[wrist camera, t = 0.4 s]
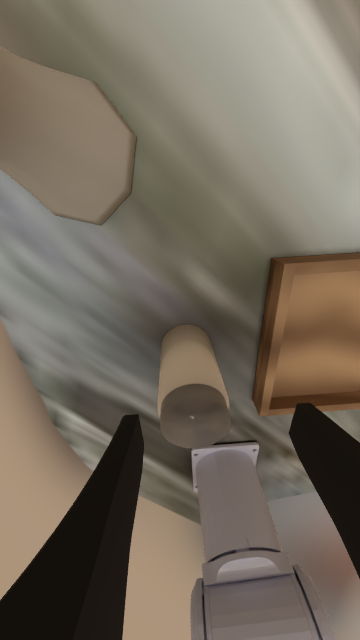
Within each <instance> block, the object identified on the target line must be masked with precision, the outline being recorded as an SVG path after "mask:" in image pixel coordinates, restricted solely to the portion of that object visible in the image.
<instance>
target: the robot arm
mask: <svg viewBox="0 0 360 640" xmlns="http://www.w3.org/2000/svg"><path fill="white" fill-rule="evenodd" d="M289 435H290V438H291V440H292V443H293V445H294V448H295V450H296V452H297V455H298V457H299V459H300V461H301V463H302V465H303V467H304V469H305V470H306V472H307V474H308V476H309V478H310V480H311V482H312V483H313V485H314V487H315V489H316V491H317V493H318V494H319V496H320V498H321V500H322V502H323V503H324V505H325V507H326V509H327V511H328V513H329V515H330V516H331V518H332V520H333V522H334V524H335V526H336V528H337V530H338V532H339V534H340V536H341V538H342V541H343V543H344V545H345V547H346V549H347V552H348V554H349V556H350V558H351V560H352V562H353V565H354V567H355V569H356V571H357V574H358V576H359V578H360V443H359V442H358V441H357V440H356V439H354V438H353V437H352V436H351V435H349V434H348V433H347V432H346V431H344V430H343V429H342V428H341V427H339V426H338V425H337V424H336V423H335V422H333V421H332V420H331V419H330V418H328V417H327V416H326V415H325V414H324V413H322V412H321V411H320V410H319V409H317V408H316V407H315V406H314V405H313V404H311V403H297V405H296V408H295V412H294V416H293V419H292V423H291V427H290V431H289ZM258 450H259V445H258V443H257V442H249V443H236V444H223V445H210V446H206V447H202V448H192V449H191V453H192V472H193V491H194V492H196V493H198V497H199V507H200V517H201V526H202V535H203V545H204V556H205V563H204V564H202V571H203V578H198V579H197V580H196V584H195V586H194V588H193V590H192V594H191V640H337V637H336V635H335V632H334V629H333V627H332V624H331V622H330V619H329V616H328V614H327V612H326V609H325V607H324V604H323V602H322V600H321V598H320V595H319V593H318V591H317V589H316V587H315V585H314V583H313V581H312V579H311V578H310V577H309V575H308V574H307V573H306V572H305V571H303V570H302V568H301V567H300V566H299V565H297V564H296V565H292V564H291V561H290V558H289V556H288V553H287V552H283V550H282V547H281V544H280V541H279V538H278V535H277V532H276V529H275V526H274V523H273V520H272V517H271V514H270V511H269V508H268V505H267V502H266V499H265V496H264V493H263V490H262V487H261V484H260V481H259V478H258V475H257V472H256V469H255V467H256V462H257V456H258ZM143 452H144V441H143V436H142V430H141V425H140V420H139V415H138V414H136V415H125V416H124V417H123V418H122V420H121V422H120V424H119V426H118V428H117V430H116V432H115V434H114V436H113V438H112V440H111V442H110V444H109V446H108V448H107V449H106V451H105V453H104V455H103V456H102V458H101V460H100V462H99V463H98V465H97V467H96V469H95V470H94V472H93V474H92V475H91V477H90V478H89V480H88V482H87V483H86V485H85V486H84V488H83V489H82V491H81V493H80V494H79V496H78V497H77V499H76V500H75V502H74V503H73V505H72V506H71V508H70V509H69V511H68V512H67V514H66V515H65V516H64V518H63V519H62V521H61V522H60V524H59V525H58V527H57V528H56V529H55V531H54V532H53V533H52V535H51V536H50V537H49V539H48V540H47V541H46V543H45V544H44V545H43V547H42V548H41V549H40V551H39V552H38V554H37V555H36V556H35V558H34V559H33V560H32V561H31V563H30V564H29V565H28V567H27V568H26V569H25V570H24V572H23V573H22V574H21V576H20V577H19V578H18V579H17V580H16V582H15V583H14V584H13V585H12V586H11V588H10V589H9V590H8V591H7V593H6V594H5V595H4V596H3V597H2V599H1V600H0V640H122V635H123V622H124V610H125V598H126V585H127V575H128V563H129V553H130V545H131V537H132V530H133V524H134V518H135V511H136V505H137V500H138V493H139V487H140V481H141V474H142V466H143Z"/></svg>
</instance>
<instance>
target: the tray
mask: <svg viewBox="0 0 360 640" xmlns="http://www.w3.org/2000/svg"><path fill="white" fill-rule="evenodd" d="M253 402H254V405H255V407H256V409H257V411H258V414H259V416H270V415H283V414H294V412H295V408H296V405H297V403H311V404H313V405H314V406H315V407H316V408H317V409H319V410H320V411H321V412H322V411H335V410H348V409H360V253H345V254H329V255H314V256H299V257H283V258H272V259H271V266H270V273H269V281H268V288H267V296H266V303H265V311H264V318H263V326H262V333H261V340H260V348H259V355H258V363H257V370H256V378H255V385H254V392H253Z"/></svg>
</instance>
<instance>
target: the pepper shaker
mask: <svg viewBox="0 0 360 640" xmlns="http://www.w3.org/2000/svg"><path fill="white" fill-rule="evenodd" d="M158 415H159V417H160V430H161V433H162V435H163V437H164V438H165V439H166V440H167V441H169V442H170V443H172V444H174V445H176V446H179V447H183V448H202V447H206V446H210V445H212V444H214V443H216V442H218V441H220V440H221V439H222V438H224V437H225V436H226V434H227V433H228V432H229V430H230V427H231V417H230V414H229V399H228V395H227V392H226V389H225V386H224V383H223V380H222V377H221V373H220V370H219V367H218V364H217V361H216V358H215V355H214V351H213V348H212V345H211V342H210V339H209V337H208V335H207V333H206V332H205V331H204V330H202V329H201V328H199V327H197V326H194V325H180V326H177V327H174V328H172V329H171V330H170V331H168V332H167V333H166V335H165V336H164V338H163V340H162V344H161V359H160V375H159V391H158Z"/></svg>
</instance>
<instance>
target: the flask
mask: <svg viewBox="0 0 360 640" xmlns="http://www.w3.org/2000/svg"><path fill="white" fill-rule="evenodd" d="M135 146H136V135H135V134H134V133H133V131H132V130H131V129H130V127H129V126H128V124H127V123H126V122H125V120H124V119H123V118H122V116H121V115H120V114H119V112H118V111H117V110H116V108H115V107H114V106H113V104H112V103H111V102H110V100H109V99H108V98H107V96H106V95H105V94H104V92H103V91H102V90H101V88H100V87H99V86H98V84H97V83H95V82H92V81H89V80H86V79H83V78H80V77H77V76H73V75H70V74H67V73H64V72H60V71H57V70H54V69H51V68H48V67H45V66H42V65H39V64H37V63H34V62H31V61H28V60H26V59H23V58H20V57H18V56H16V55H14V54H13V53H11V52H10V51H8V50H6V49H5V48H3V47H2V46H0V169H2V170H3V171H4V172H5V173H6V174H8V175H9V176H10V177H11V178H13V179H14V180H15V181H16V182H18V183H19V184H20V185H21V186H22V187H24V188H25V189H26V190H27V191H29V192H30V193H31V194H32V195H33V196H34V197H35V198H36V199H38V200H39V201H40V202H41V203H42V204H43V205H44V206H45V207H46V208H47V209H48V210H50V211H51V212H52V213H53V214H55V215H56V216H61V217H65V218H70V219H74V220H78V221H83V222H87V223H92V224H96V225H102V224H103V223H104V222H105V221H106V219H107V218H108V217H109V216H110V215H111V214H112V213H113V212H114V211H115V210H116V209H117V207H118V206H119V205H120V204H121V203H122V202H123V201H124V200H125V199H126V198H127V197H128V196H129V194H130V193H131V186H132V176H133V166H134V156H135Z"/></svg>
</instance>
